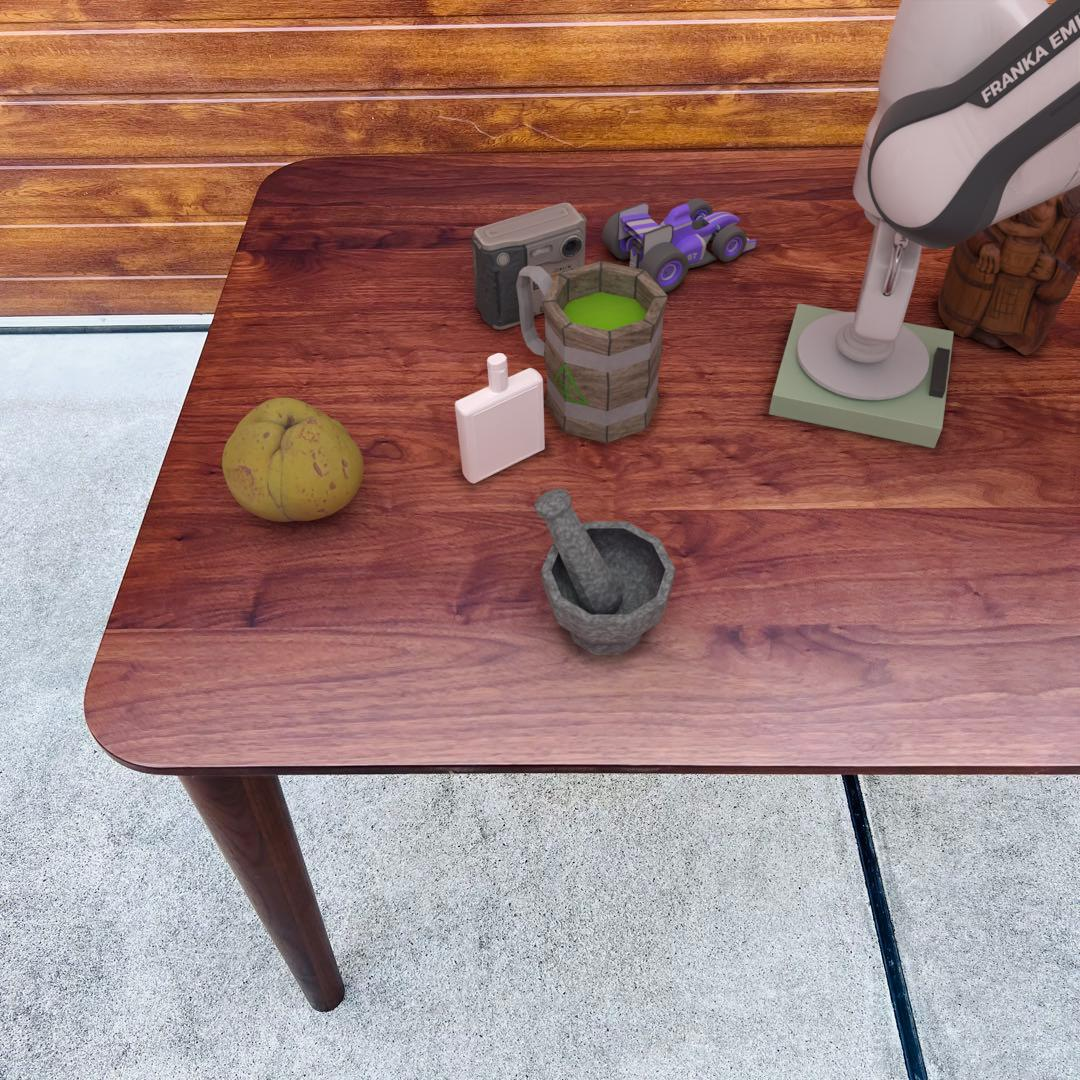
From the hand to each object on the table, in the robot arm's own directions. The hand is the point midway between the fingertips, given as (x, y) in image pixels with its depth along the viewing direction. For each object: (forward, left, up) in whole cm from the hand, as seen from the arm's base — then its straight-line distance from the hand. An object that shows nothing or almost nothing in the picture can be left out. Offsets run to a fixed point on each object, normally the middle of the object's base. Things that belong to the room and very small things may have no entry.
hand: (873, 317), depth 90 cm
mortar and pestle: (+16, +34, -8) cm, 38 cm away
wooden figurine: (-11, -12, -8) cm, 18 cm away
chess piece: (0, 0, -4) cm, 4 cm away
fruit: (+44, +30, -8) cm, 53 cm away
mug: (+25, +9, -8) cm, 27 cm away
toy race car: (+21, -15, -8) cm, 27 cm away
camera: (+34, -2, -8) cm, 35 cm away
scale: (0, 0, -8) cm, 8 cm away
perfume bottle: (+29, +20, -8) cm, 36 cm away
